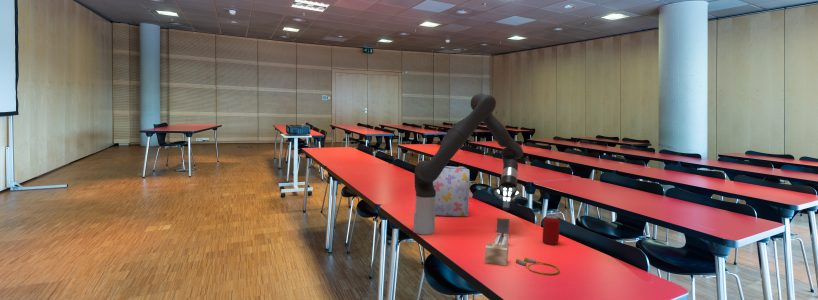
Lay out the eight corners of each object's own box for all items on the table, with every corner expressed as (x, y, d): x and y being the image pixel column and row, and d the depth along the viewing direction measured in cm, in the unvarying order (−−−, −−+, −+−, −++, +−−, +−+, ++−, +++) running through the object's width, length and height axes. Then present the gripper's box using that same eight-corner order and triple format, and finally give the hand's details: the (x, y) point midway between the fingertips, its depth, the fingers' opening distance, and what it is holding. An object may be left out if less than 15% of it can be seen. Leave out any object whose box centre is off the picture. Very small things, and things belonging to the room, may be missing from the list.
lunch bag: (464, 210, 248) (466, 164, 246) (470, 217, 231) (472, 168, 229) (425, 209, 247) (427, 163, 244) (428, 217, 230) (430, 167, 228)
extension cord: (540, 260, 170) (540, 255, 170) (566, 275, 155) (566, 269, 155) (513, 262, 166) (513, 257, 166) (537, 278, 151) (537, 272, 151)
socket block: (484, 262, 164) (485, 247, 163) (486, 257, 169) (487, 242, 169) (506, 265, 161) (506, 249, 161) (507, 260, 167) (508, 245, 166)
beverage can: (559, 242, 192) (560, 215, 191) (557, 246, 186) (559, 219, 185) (543, 239, 195) (545, 213, 194) (541, 244, 189) (542, 217, 188)
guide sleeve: (492, 253, 175) (493, 243, 174) (497, 242, 190) (497, 233, 189) (504, 254, 173) (504, 245, 173) (507, 243, 188) (508, 234, 188)
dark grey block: (492, 252, 174) (493, 227, 173) (497, 239, 191) (498, 217, 190) (504, 253, 172) (506, 228, 171) (508, 241, 189) (509, 218, 188)
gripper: (494, 173, 207) (490, 203, 197) (523, 175, 203) (520, 206, 193) (495, 182, 213) (491, 212, 202) (523, 184, 209) (520, 215, 198)
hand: (505, 209), depth 198 cm, fingers closed
